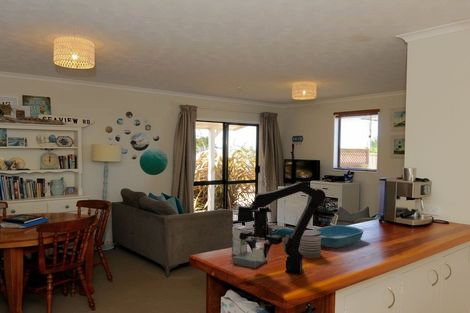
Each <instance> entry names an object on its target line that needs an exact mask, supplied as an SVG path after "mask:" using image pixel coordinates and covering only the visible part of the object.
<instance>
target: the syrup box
mask: <svg viewBox="0 0 470 313" xmlns="http://www.w3.org/2000/svg"><path fill="white" fill-rule="evenodd" d="M248 229H249V228H248V226H246V225H242V224H238V225H235V226H232V234H231V238H232V240H231V254H232V255H233V254H234V256H236V255H239V254H241V253H243V252H245V251H247V252H248V243H247V242H246V240H242V239H239V235H240V233H241V232H244V231H248Z"/></svg>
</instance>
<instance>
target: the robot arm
mask: <svg viewBox="0 0 470 313" xmlns="http://www.w3.org/2000/svg"><path fill="white" fill-rule="evenodd" d="M300 192H301V193H303V194H305V195H308V197H307V202H306V206H305V207H304V210H303V211H302V213H301V215H300V217H299V219H298V222H297V224H296V225H295V227H294V229H293V231H292V233H291V234H286V235H285V238H284V239H283V238H282V235H277V234H273V229H274V228H272V227H269V223H268V213H272V211H273V210H271V208H270V207H269V205H270V204H271V203H272V204H273V203H274V202H275V201H277V200H279V199H283V198H287V197H289V196H291V195H295V194H297V193H300ZM326 196H327V195H326V193H325V191H324V190H322V189H321V188H317V187H311V186H309V185H306V184H305V183H304V182H302V181H297V182H296V183H293V184H289V185H287V186H284V187H281V188H279V189H276V190H271V191H264V192H259V193H257V194H255V195H254V198H253V201H252V203H250V205H249V206H242V205H238V207H237V208H238V210H237V222H238V223H239V222H240V223H242V222H244V223H250V222H251V221H252V220H253V224H252V228H253V231H248V230H247V231H244V232H241V233H240V235H239V239H242V240H246V242H247V246H248V247H249V248H250V250H251V251H250V252H252V253H253V248H255V247H257V240H259V241H260V240H261V241H265V242H264V243H263V247H264V257H265V258H266V257H267V255H269V252H270V249H271V248H272V245H275V246H276V245H277V246H278V245H280V244H282V249H283V250H284V252H285V255H287V257H286V260H285V271H284V272H285V273H289V274H294V275H300V274H301V273H303V272H304V269H303V259H304V257H303V255H302V254H301V252H300V251H299V246H300V241H301V237H302V235H303V233H304V231H306V230H307V227H308V226H309V224H310V221H311V219H312V218H313V215H314V214H315V212H316V210H317V209H318V208H320V206H321V205H322V204H323V202H324V201H325V200H326Z"/></svg>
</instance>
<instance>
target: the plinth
mask: <svg viewBox="0 0 470 313" xmlns="http://www.w3.org/2000/svg"><path fill="white" fill-rule="evenodd" d="M267 261H268V259H266V260H265V261H263V262H262V261H256V260H253V253H252V251H248V250H247V251H245V252H243V253H241V254H239V255H234V256H232V264H234V265H239V266H244V267H248V268H254V269H256V268H257V267H260V266H261V265H264V263H267Z"/></svg>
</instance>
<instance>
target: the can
mask: <svg viewBox="0 0 470 313" xmlns="http://www.w3.org/2000/svg"><path fill="white" fill-rule="evenodd" d="M320 233H321V232H320V231H317V230H314V229H305V231H304V233H303V235H302V237H301V241H300V246H299V251H300V252H301V254H302V255H303V258H310V259H314V258H319V257H321V254H322V252H321V251H322V248H321V247H322V245H321V234H320Z"/></svg>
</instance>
